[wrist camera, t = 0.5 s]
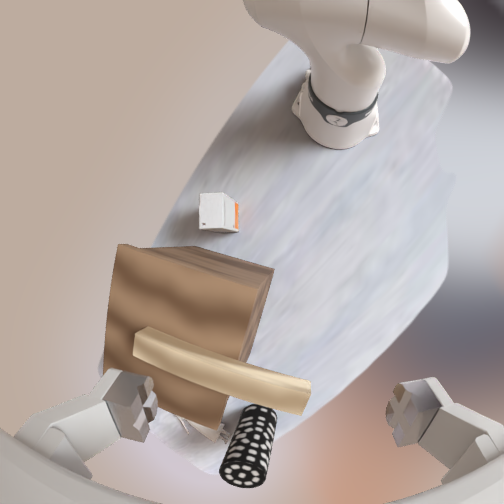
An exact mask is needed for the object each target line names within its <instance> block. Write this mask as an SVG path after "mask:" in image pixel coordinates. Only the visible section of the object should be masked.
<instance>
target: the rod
mask: <svg viewBox="0 0 504 504" xmlns="http://www.w3.org/2000/svg"><path fill="white" fill-rule="evenodd" d="M133 356H135V357H137V358H139V359H141V360H143V361H145V362H147V363H150V364H152V365H154V366H156V367H158V368H160V369H163V370H165V371H167V372H170V373H172V374H174V375H177V376H179V377H181V378H184V379H186V380H189V381H191V382H194V383H196V384H199V385H202V386H204V387H207V388H210V389H212V390H215V391H218V392H221V393H224V394H227V395H230V396H233V397H236V398H239V399H242V400H245V401H248V402H252V403H255V404H258V405H262V406H265V407H269V408H272V409H276V410H280V411H284V412H288V413H292V414H296V415H300V416H301V415H302V413H303V411H304V409H305V406H306V404H307V402H308V400H309V397H310V395H311V383H310V381H308V380H304V379H300V378H296V377H293V376H289V375H285V374H282V373H278V372H274V371H271V370H267V369H264V368H261V367H257V366H254V365H251V364H248V363H245V362H241V361H238V360H235V359H232V358H229V357H226V356H223V355H221V354H218V353H215V352H212V351H209V350H206V349H204V348H201V347H198V346H196V345H193V344H190V343H188V342H185V341H183V340H180V339H178V338H175V337H173V336H170V335H168V334H165V333H163V332H160V331H158V330H156V329H153V328H151V327H149V326H148V327H146V328H144V329H142V330H140V331H138V332H137V333H135V339H134V347H133Z"/></svg>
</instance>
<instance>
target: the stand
mask: <svg viewBox="0 0 504 504" xmlns="http://www.w3.org/2000/svg"><path fill="white" fill-rule="evenodd" d="M274 270H275V269H272V268H269V267H265V266H262V265H258V264H255V263H251V262H248V261H244V260H241V259H238V258H234V257H231V256H227V255H224V254H220V253H217V252H213V251H210V250H207V249H203V248H200V247H196V246H186V247H160V248H137V247H134V246H131V245H128V244H118V247H117V253H116V258H115V263H114V269H113V275H112V282H111V289H110V296H109V304H108V312H107V322H106V333H105V346H104V364H103V375H104V374H105V373H106V371H107V370H108V369H110V368H114V369H118V370H122V371H127V372H132V373H136V374H140V375H145V376H149V377H151V378H152V379H153V383H154V387H153V389H152V391H153V392H154V393H155V394H156V396H157V400H158V407H160V408H162V409H164V410H166V411H168V412H171V413H173V414H175V415H177V416H180V417H182V418H185V419H187V420H190V421H192V422H195V423H197V424H200V425H202V426H205V427H208V428H210V429H213V430H216V431H217V429H218V427H219V425H220V423H221V420H222V417H223V413H224V410H225V407H226V404H227V400H228V398H229V396H230V395H227V394H224V393H221V392H218V391H215V390H212V389H210V388H207V387H204V386H202V385H199V384H196V383H194V382H191V381H189V380H186V379H184V378H181V377H179V376H177V375H174V374H172V373H170V372H167V371H165V370H163V369H160V368H158V367H156V366H154V365H152V364H150V363H147V362H145V361H143V360H141V359H139V358H137V357H135V356H133V347H134V339H135V333H137V332H138V331H140V330H142V329H144V328H146V327H148V326H149V327H151V328H153V329H156V330H158V331H160V332H163V333H165V334H168V335H170V336H173V337H175V338H178V339H180V340H183V341H185V342H188V343H190V344H193V345H196V346H198V347H201V348H204V349H206V350H209V351H212V352H215V353H218V354H221V355H223V356H226V357H229V358H232V359H235V360H238V361H241V362H245V363H246V362H247V359H248V357H249V355H250V352H251V349H252V346H253V342H254V339H255V336H256V332H257V329H258V325H259V322H260V319H261V315H262V312H263V308H264V305H265V302H266V298H267V295H268V291H269V288H270V284H271V281H272V277H273V273H274Z"/></svg>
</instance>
